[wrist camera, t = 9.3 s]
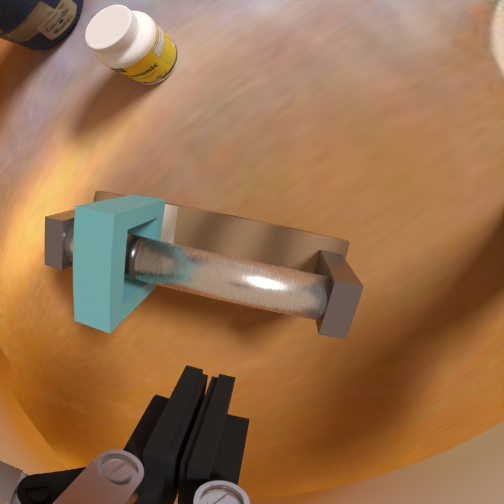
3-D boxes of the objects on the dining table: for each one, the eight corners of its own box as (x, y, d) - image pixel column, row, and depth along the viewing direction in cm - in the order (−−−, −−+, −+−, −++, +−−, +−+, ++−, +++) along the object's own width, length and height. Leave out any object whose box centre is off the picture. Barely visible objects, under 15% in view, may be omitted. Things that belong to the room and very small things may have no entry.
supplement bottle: (126, 88, 26) (70, 62, 17) (135, 41, 25) (86, 4, 15) (176, 85, 26) (131, 52, 16) (184, 36, 25) (146, -10, 15)
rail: (339, 251, 29) (363, 286, 20) (328, 291, 30) (345, 338, 21) (102, 203, 29) (45, 216, 21) (99, 240, 30) (44, 264, 22)
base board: (347, 240, 28) (349, 242, 27) (330, 303, 30) (331, 307, 29) (99, 190, 29) (95, 191, 28) (94, 250, 31) (90, 252, 30)
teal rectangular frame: (165, 199, 25) (114, 214, 17) (155, 288, 27) (109, 333, 19) (134, 194, 25) (75, 206, 17) (126, 280, 27) (74, 320, 19)
